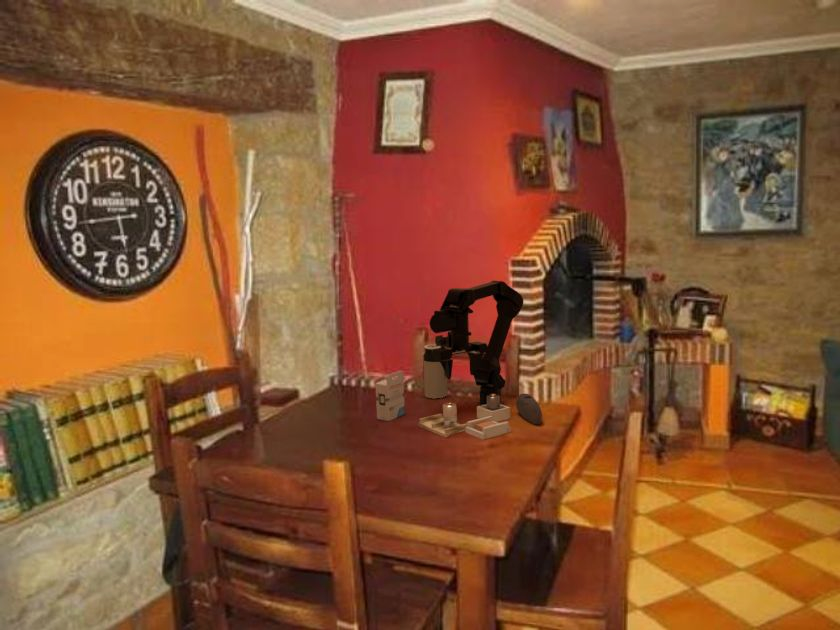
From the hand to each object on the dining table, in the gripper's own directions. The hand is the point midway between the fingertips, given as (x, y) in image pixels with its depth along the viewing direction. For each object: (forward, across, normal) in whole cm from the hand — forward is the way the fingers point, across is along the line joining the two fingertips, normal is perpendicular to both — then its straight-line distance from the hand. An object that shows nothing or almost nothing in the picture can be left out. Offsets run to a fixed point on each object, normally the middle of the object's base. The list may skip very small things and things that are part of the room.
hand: (460, 377), depth 206 cm
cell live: (+11, +13, +11) cm, 20 cm away
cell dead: (+12, -4, +11) cm, 16 cm away
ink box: (+12, +19, -12) cm, 26 cm away
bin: (+12, -4, +11) cm, 17 cm away
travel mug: (+12, -6, -22) cm, 26 cm away
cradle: (+12, +6, +20) cm, 24 cm away
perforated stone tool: (+12, -12, +19) cm, 26 cm away
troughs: (+12, +13, +8) cm, 19 cm away
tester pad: (+12, +6, +20) cm, 24 cm away
